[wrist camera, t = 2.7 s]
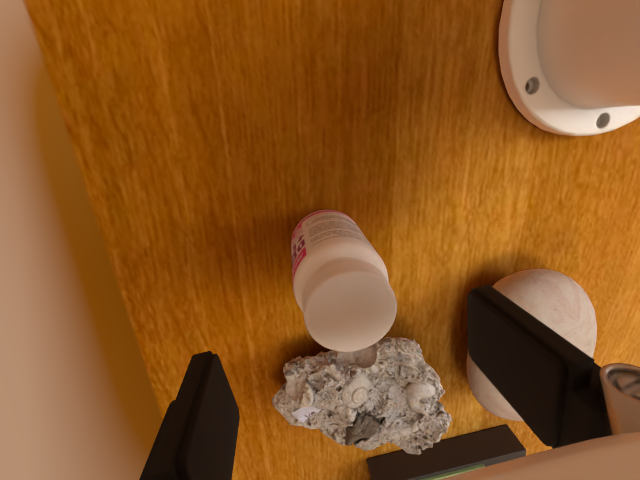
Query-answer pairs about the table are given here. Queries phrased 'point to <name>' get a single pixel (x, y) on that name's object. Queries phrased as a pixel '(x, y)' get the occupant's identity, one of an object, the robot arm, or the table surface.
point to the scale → (449, 456)
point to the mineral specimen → (367, 396)
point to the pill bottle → (340, 283)
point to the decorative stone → (551, 309)
